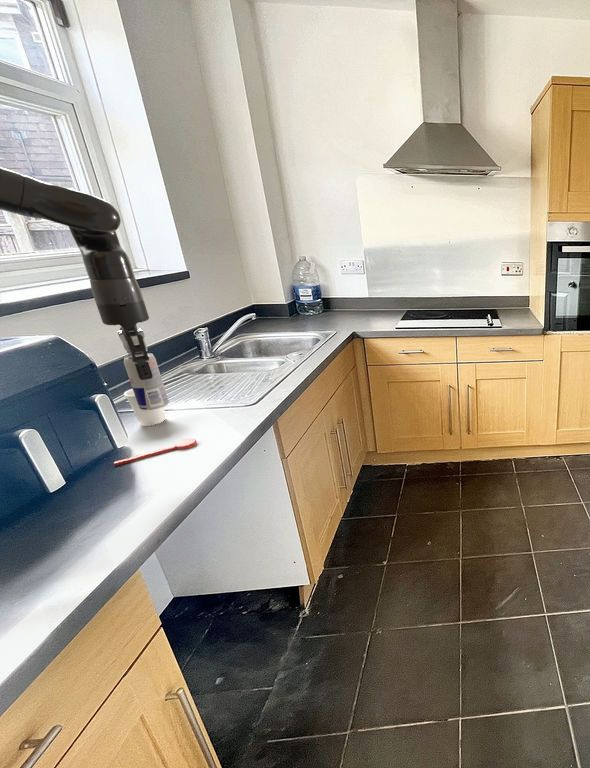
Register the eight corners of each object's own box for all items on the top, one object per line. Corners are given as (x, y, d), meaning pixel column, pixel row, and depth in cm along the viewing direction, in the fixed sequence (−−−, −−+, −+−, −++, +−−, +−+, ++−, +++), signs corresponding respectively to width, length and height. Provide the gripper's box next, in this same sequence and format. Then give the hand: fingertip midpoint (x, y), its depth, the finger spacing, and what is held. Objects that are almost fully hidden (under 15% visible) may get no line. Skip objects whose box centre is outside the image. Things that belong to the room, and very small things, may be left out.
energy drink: (143, 404, 97) (127, 354, 93) (172, 400, 99) (156, 351, 95) (136, 412, 92) (118, 360, 88) (166, 408, 95) (150, 357, 90)
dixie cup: (176, 420, 122) (166, 388, 119) (140, 430, 116) (129, 397, 112) (164, 413, 126) (155, 383, 123) (130, 423, 120) (118, 391, 117)
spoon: (115, 468, 97) (114, 465, 96) (114, 462, 100) (112, 458, 99) (198, 445, 108) (197, 442, 107) (194, 439, 110) (193, 436, 110)
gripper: (93, 298, 89) (119, 372, 95) (97, 306, 80) (126, 387, 86) (138, 295, 95) (160, 365, 100) (147, 301, 85) (171, 379, 91)
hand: (144, 375), depth 93 cm, fingers closed on energy drink, 5 cm apart
